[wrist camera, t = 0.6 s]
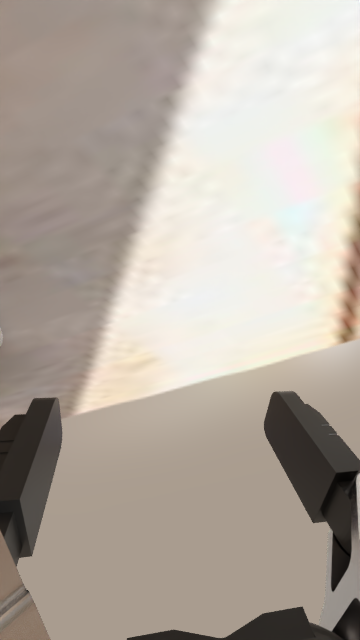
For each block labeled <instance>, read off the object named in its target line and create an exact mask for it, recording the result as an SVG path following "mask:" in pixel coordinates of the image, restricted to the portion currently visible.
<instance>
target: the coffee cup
mask: <svg viewBox="0 0 360 640" xmlns="http://www.w3.org/2000/svg"><path fill="white" fill-rule="evenodd" d="M2 341H3V336H2V330H1V327H0V347H1V345H2Z"/></svg>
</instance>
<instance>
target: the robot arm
mask: <svg viewBox="0 0 360 640" xmlns="http://www.w3.org/2000/svg"><path fill="white" fill-rule="evenodd" d="M264 430H265V434H266V437H267V439H268V441H269V443H270V444H271V446H272V448H273V450H274V452H275V454H276V456H277V458H278V459H279V461H280V463H281V465H282V467H283V468H284V470H285V472H286V474H287V476H288V478H289V480H290V481H291V483H292V485H293V487H294V489H295V491H296V492H297V494H298V496H299V498H300V500H301V502H302V503H303V505H304V507H305V509H306V511H307V513H308V514H309V516H310V518H311V520H312V522H313V523H318V522H326V521H327V523H328V524H329V526H330V528H331V529H330V531H329V534H328V550H327V571H326V593H325V601H324V606H323V609H322V613H321V617H320V622H319V625H316V624H313V623H309V621H308V619H307V616H306V614H305V612H304V609H303V607H297V608H292V609H286V610H280V611H275V612H269V613H264V614H262V615H260V616H259V617H257V618H256V619H254V620H253V621H251V622H249V623H248V624H246V625H245V626H243V627H241V628H240V629H238V630H237V631H235V632H234V633H232V634H231V635H229V636H227V637H226V638H215V637H210V636H204V635H199V634H194V633H189V632H183V631H178V630H170V631H164V632H158V633H153V634H147V635H142V636H136V637H132V638H127V640H360V460H359V459H358V458H357V457H356V455H355V454H354V453H353V452H352V451H351V450H350V448H349V447H348V446H347V445H346V443H345V442H344V441H343V440H342V439H341V437H340V436H338V435H337V433H336V432H335V430H334V429H333V428H332V427H331V426H329V423H328V422H327V421H326V420H325V418H324V417H323V416H322V415H321V414H320V413H319V412H318V411H317V410H315V409H314V408H312V407H311V406H310V405H308V404H304V402H303V401H302V400H301V399H300V397H299V396H298V395H297V394H296V393H295V392H293V391H284V392H283V391H282V392H274V393H273V394H272V396H271V399H270V403H269V406H268V410H267V413H266V417H265V421H264ZM61 443H62V426H61V415H60V406H59V399H58V398H34V399H33V400H32V402H31V405H30V407H29V409H28V411H27V413H26V414H23V415H14V416H13V417H12V418H11V419H10V420H9V421H8V422H7V423H6V424H5V425H4V426H2V428H1V429H0V640H50V637H49V635H48V633H47V630H46V628H45V626H44V623H43V621H42V619H41V616H40V614H39V612H38V610H37V607H36V605H35V603H34V601H33V599H32V596H31V595H30V593H29V591H28V590H26V588H25V586H24V584H23V582H22V579H21V577H20V575H19V572H18V570H17V568H16V566H17V563H18V560H19V558H21V557H29V556H32V554H33V550H34V546H35V543H36V539H37V535H38V532H39V528H40V524H41V520H42V517H43V512H44V509H45V505H46V501H47V498H48V494H49V490H50V486H51V483H52V479H53V475H54V472H55V468H56V464H57V460H58V457H59V453H60V449H61Z"/></svg>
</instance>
